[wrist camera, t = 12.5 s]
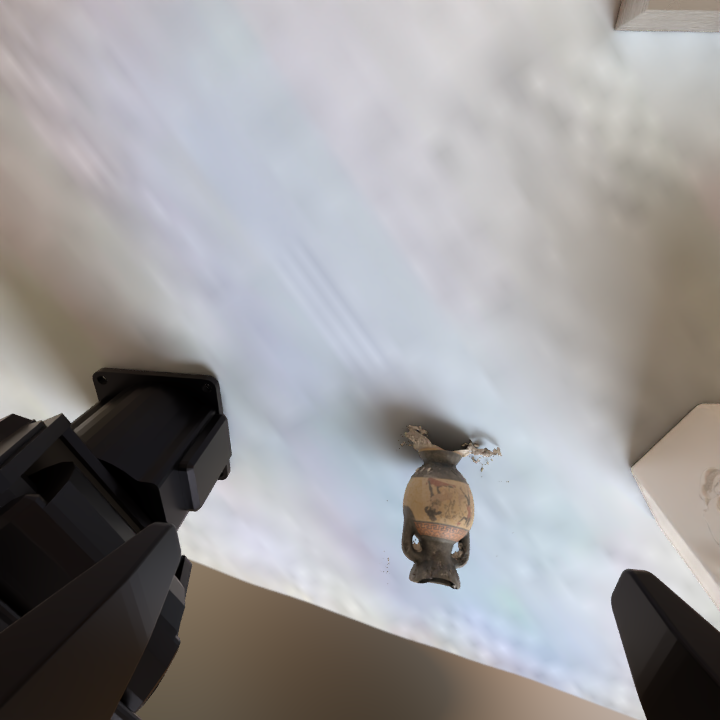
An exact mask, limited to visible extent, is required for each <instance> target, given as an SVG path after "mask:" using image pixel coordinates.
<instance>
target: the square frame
mask: <svg viewBox="0 0 720 720" xmlns="http://www.w3.org/2000/svg"><path fill="white" fill-rule="evenodd" d="M615 30H621V31H680V32H720V0H622V1H621V5H620V9H619V13H618V18H617V22H616V26H615Z"/></svg>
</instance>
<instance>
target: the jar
mask: <svg viewBox="0 0 720 720" xmlns="http://www.w3.org/2000/svg"><path fill="white" fill-rule="evenodd" d="M631 472H632V474H633V476H634V478H635V480H636V482H637V484H638V486H639V488H640V490H641V492H642V494H643V496H644V498H645V500H646V502H647V504H648V506H649V508H650V510H651V512H652V514H653V516H654V518H655V520H656V522H657V524H658V526H659V527H660V529H661V530H662V532H663V533H664V534H665V536H666V537H667V539H668V540H669V541H670V543H671V544H672V546H673V547H674V548H675V550H676V551H677V553H678V554H679V555H680V557H681V558H682V559H683V561H684V562H685V564H686V565H687V566H688V568H689V569H690V571H691V572H692V573H693V575H694V576H695V578H696V579H697V580H698V582H699V583H700V585H701V586H702V587H703V589H704V590H705V592H706V593H707V594H708V596H709V597H710V598H711V600H712V601H713V603H714V604H715V605H716V607H717V608H718V610H719V611H720V404H699V405H697V406H696V407H695V408H694V409H693V410H692V411H691V412H690V413H689V414H688V415H687V416H686V417H684V418H683V419H682V420H681V421H680V422H679V423H678V424H677V425H676V426H675V427H674V428H673V429H672V430H671V431H670V432H669V433H667V434H666V435H665V436H664V437H663V438H662V439H661V440H660V441H659V442H658V443H657V444H656V445H655V446H654V447H653V448H652V449H650V450H649V451H648V452H647V453H646V454H645V455H644V456H643V457H642V458H641V459H640V460H639V461H638V462H637V463H636V464H634V465H633V466H632V468H631Z"/></svg>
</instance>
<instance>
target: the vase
mask: <svg viewBox="0 0 720 720" xmlns="http://www.w3.org/2000/svg"><path fill="white" fill-rule="evenodd" d="M408 428H409V431H410V432H405V433H404V434H405V437H407V438H409V439H410V440H411V441H413V442H414V444H415V445H413V447H414V448H415V450H418V453H419V456H420V458H421V459H422V460H423V462H424V465H422V466H421V467H419V468H418V469H416V472H415V473H414V474H413V475H412V476H411V479H410V481H409V483H408V485H407V487H406V490H405V494H404V500H403V514H404V525H403V533H402V550H403V553H404V554H405V556H406V557H407V558H408V559H410V560H411V561H413V562H414V563H415V564H413V567H412V569H411V571H410V575H409V579H410V581H413V582H416V583H427V582H430V583H436V584H442V585H446V586H450V587H451V588H453V589H459V588H460V580H459V576H458V573H457V570H456V568H461V567H463V566H464V565H465V564H466V563H467V561H468V559H469V551H470V544H469V543H470V539H469V530H470V529H471V526H472V524H473V519H474V502H473V496H472V493H471V490H470V488H469V484H468V483H467V482H466V479H465V478H464V477H463V476H462V474H461V473H460V472H459V471H458V470H457V469H456V465H457V464H458V462H459V461H460V460H461V458H462V457H466V456H468V455H469V454H474V455H479V454H480V455H483V457H484V456H486V457H487V456H488V457H490V455H491V456H492V455H497V453H498V456H499V455H500V456H502V455H501V452H500V448H499V447H497V450H496V449H495V448H494V449H495V450H493V452H492V451H490V450H488V449H487V448H484V449H477V448H474V447H473V445H472V441H471V440H470V439H469V440H470V443H469V447H467V449H466V450H456V451H446V450H443V449H442V448H440V447H438V446H436V445H433V444H431V442H430V441H429V439H427V438H426V436H423V435H424V434H426V435H427V433H428V432H427V433H426V430H423V429H421V426H411V425H409V427H408ZM416 430H418V432H417V431H416ZM419 433H421V434H419ZM402 437H403V436H402ZM427 437H428V435H427ZM398 441H399V440H398ZM408 442H409V441H408ZM403 443H405V441H404V442H403ZM403 443H402V444H400V445H401V446H402V445H403ZM405 444H406V443H405ZM405 444H404V445H405ZM465 444H467V443H464V444H463V445H462V446H465ZM406 445H407V444H406ZM467 445H468V444H467ZM408 446H410V447H411V446H412V445H411V444H409V445H408ZM462 446H461V447H462ZM474 446H475V447H479V445H478V444H474ZM399 449H400V448H399ZM468 450H469V451H472V452H469V451H468ZM469 457H470V456H469ZM493 457H494V456H493ZM479 458H481V457H479ZM471 459H472V460H473V459H474V457H473V458H471ZM491 460H492V459H491ZM479 461H480V460H478V459H477V461H475V460H473V462H475V463H477V462H479ZM492 461H493V460H492ZM487 464H489V463H488V462H487ZM482 465H483V464H482ZM485 465H486V464H485ZM482 470H483V468H482V469H481V472H482ZM481 477H482V476H481ZM501 482H502V481H501ZM506 482H507V481H506ZM508 482H509V481H508ZM387 501H388V500H387ZM413 535H415V536H416V537H417V538H418V540H419V542H418V544H416V543H414V544H413V542H414V541H413V542H412V538H413ZM415 541H416V539H415ZM456 542H459V543H458V547H459V551H458V552H456V551H455V553H453V554H451V551H452V548H453V545H454V544H455V543H456ZM388 561H389V558H388ZM388 564H389V563H388ZM387 568H388V567H387ZM383 572H384V571H383ZM387 572H388V571H387Z"/></svg>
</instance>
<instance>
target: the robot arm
mask: <svg viewBox="0 0 720 720" xmlns="http://www.w3.org/2000/svg"><path fill="white" fill-rule="evenodd" d="M103 376H104V377H105V378H106V380H105V379H104V378H103ZM93 382H94V385H95V389H96V392H97V396H98V399H99V402H98V403H96V404H95V405H94V406H92V407H91V408H90V409H89V410H87V411H86V412H85V413H84V414H82V415H81V416H80V417H78V418H77V419H76V420H75V421H73V422H72V423H70V422H69V420H68V419H67V418H66V417H65V416H64V415H63V413H61V414H59V415H56V416H54V417H52V418H49V419H47V420H45V421H42V420H41V421H38V422H36V420H35V419H33V420H30V419H27V418H24V417H21V416H18V415H15V414H11V415H9V416H6V417H4V418H2V419H0V720H142V719H141V718H140V717H139V716H138V715H136V714H135V713H136V712H137V711H138V710H139V709H140V708H141V707H142V706H143V705H144V704H145V703H146V701H147V700H148V699H149V697H150V696H151V695H152V694H153V692H154V691H155V690H156V688H157V687H158V685H159V683H160V682H161V680H162V678H163V677H164V675H165V673H166V672H167V670H168V668H169V666H170V665H171V663H172V661H173V659H174V657H175V655H176V653H177V651H178V648H179V645H180V638H179V637H178V632H179V626H180V622H181V618H182V615H183V611H184V608H185V597H186V592H187V587H188V582H189V577H190V572H191V567H192V564H191V562H190V561H189V560H188V559H187V557H186V556H185V555H181V548H180V543H179V539H178V534H177V531H178V529H179V527H180V526H181V524H182V522H183V521H184V519H185V517H186V516H187V514H188V512H189V511H195V512H196V511H198V510H199V509H200V508H201V507H202V505H203V504H204V502H205V500H206V499H207V497H208V495H209V493H210V492H211V490H212V488H213V487H214V485H215V483H216V481H217V480H224V479H226V478H227V477H228V475H229V473H230V462H229V459H230V457H231V455H232V452H231V445H230V437H229V429H228V421H227V418H226V416H225V415H224V414H223V409H222V402H221V394H220V386H219V383H218V381H217V380H216V379H215V378H214V377H212V376H207V375H193V374H180V373H166V372H153V371H139V370H125V369H112V368H101V369H100V370H98V371H97V372H95V373H94V374H93ZM205 384H209V385H210V386H211V389H210V388H207V387H206V385H205ZM611 605H612V610H613V613H614V617H615V620H616V623H617V627H618V630H619V633H620V637H621V640H622V644H623V647H624V650H625V654H626V657H627V660H628V664H629V667H630V671H631V674H632V677H633V681H634V684H635V687H636V690H637V693H638V696H639V700H640V702H641V705H642V708H643V710H644V713H645V716H646V718H647V720H720V632H719V631H718V630H717V629H716V628H714V627H713V626H712V625H711V624H710V623H709V622H708V621H706V620H705V619H704V618H703V617H702V616H701V615H700V614H698V613H697V612H696V611H695V610H694V609H693V608H691V607H690V606H689V605H688V604H687V603H686V602H685V601H683V600H682V599H681V598H680V597H679V596H678V595H676V594H675V593H674V592H673V591H672V590H671V589H670V588H668V587H667V586H666V585H665V584H664V583H663V582H662V581H660V580H659V579H658V578H657V577H656V576H655V575H653V574H652V573H650V572H648V571H645V570H636V569H626V570H624V571H623V572H622V574H621V576H620V578H619V581H618V583H617V585H616V587H615V589H614V591H613V593H612V597H611Z"/></svg>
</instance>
